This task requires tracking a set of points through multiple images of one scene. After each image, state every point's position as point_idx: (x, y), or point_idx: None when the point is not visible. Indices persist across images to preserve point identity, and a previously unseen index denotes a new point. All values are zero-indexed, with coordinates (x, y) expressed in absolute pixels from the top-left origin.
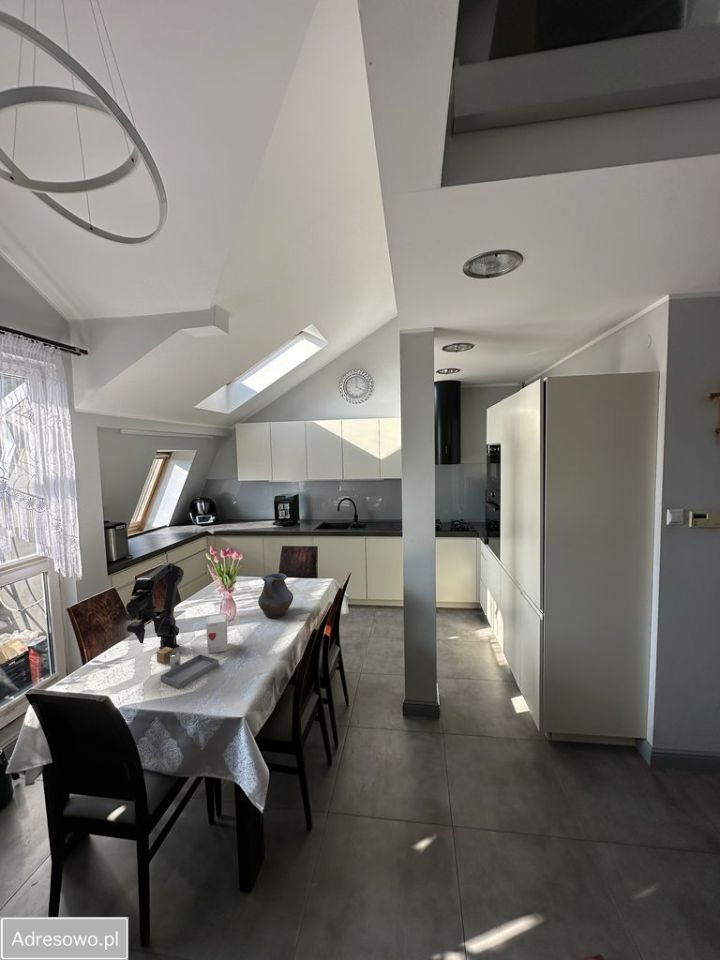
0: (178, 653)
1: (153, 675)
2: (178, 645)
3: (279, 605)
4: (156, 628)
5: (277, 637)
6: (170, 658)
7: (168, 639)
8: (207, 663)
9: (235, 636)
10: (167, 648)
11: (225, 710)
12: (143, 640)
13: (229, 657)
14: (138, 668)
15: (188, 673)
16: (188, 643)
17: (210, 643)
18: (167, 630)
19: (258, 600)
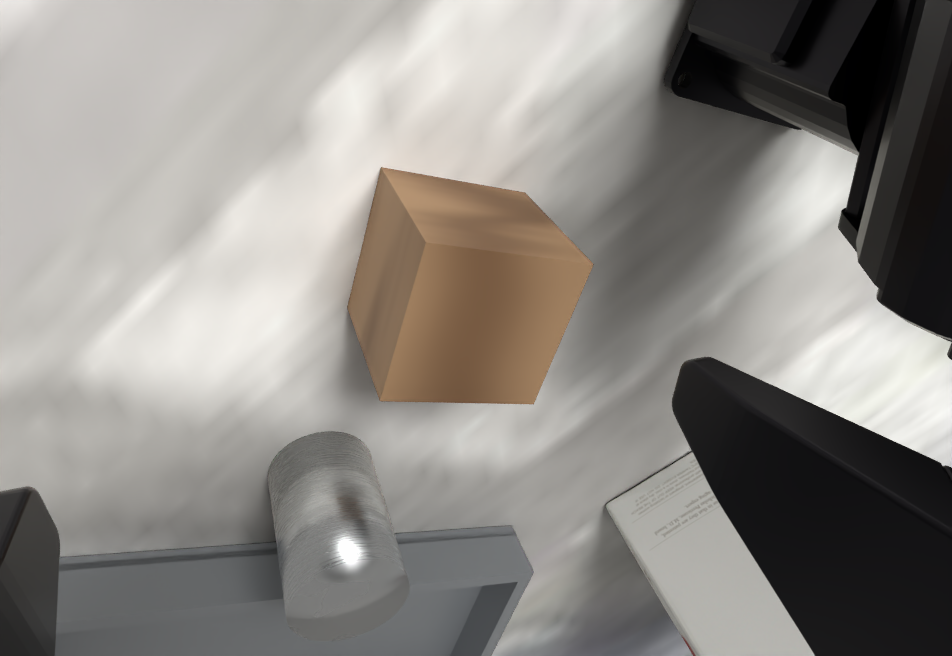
0: (391, 605)
1: (76, 398)
2: (794, 126)
3: None
4: (779, 499)
5: None
6: (289, 575)
7: (820, 120)
8: (440, 630)
9: None
10: (544, 320)
11: None
12: (47, 649)
13: (557, 641)
14: (108, 18)
15: (253, 645)
16: (831, 194)
17: (661, 600)
18: (910, 284)
19: None
